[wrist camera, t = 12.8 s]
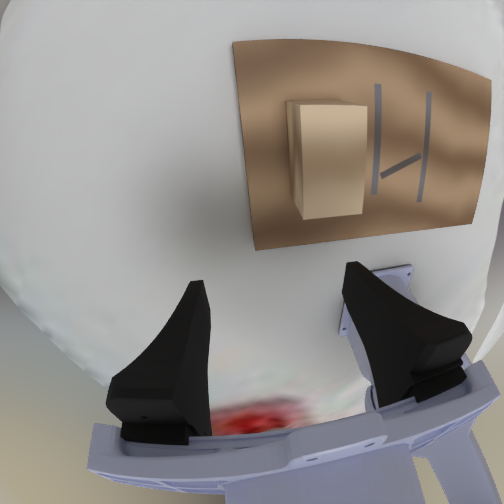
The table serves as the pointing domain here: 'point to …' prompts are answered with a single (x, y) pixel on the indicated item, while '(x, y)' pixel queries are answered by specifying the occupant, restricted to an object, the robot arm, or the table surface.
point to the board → (378, 136)
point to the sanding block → (327, 156)
